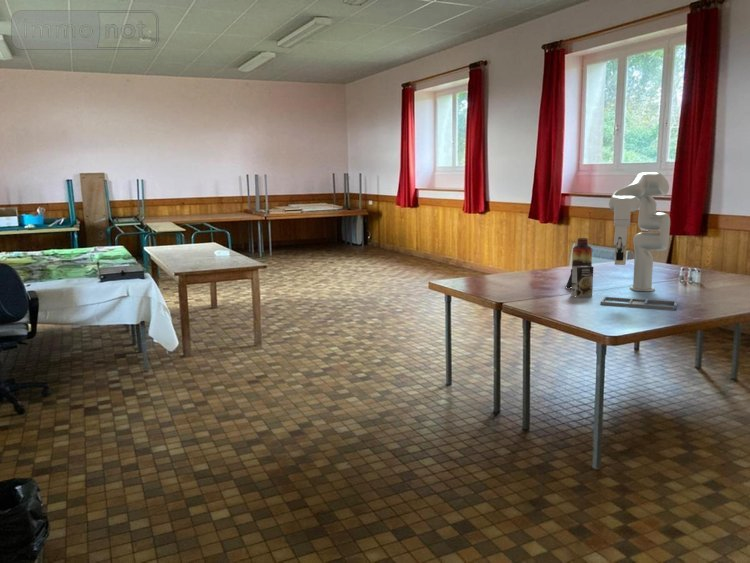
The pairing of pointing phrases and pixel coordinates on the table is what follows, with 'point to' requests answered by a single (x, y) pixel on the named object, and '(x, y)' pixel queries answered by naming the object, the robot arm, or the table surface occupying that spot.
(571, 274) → the phone stand
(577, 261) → the vase
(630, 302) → the grey flat frame
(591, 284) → the coffee box
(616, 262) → the tan wooden block
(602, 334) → the table surface
